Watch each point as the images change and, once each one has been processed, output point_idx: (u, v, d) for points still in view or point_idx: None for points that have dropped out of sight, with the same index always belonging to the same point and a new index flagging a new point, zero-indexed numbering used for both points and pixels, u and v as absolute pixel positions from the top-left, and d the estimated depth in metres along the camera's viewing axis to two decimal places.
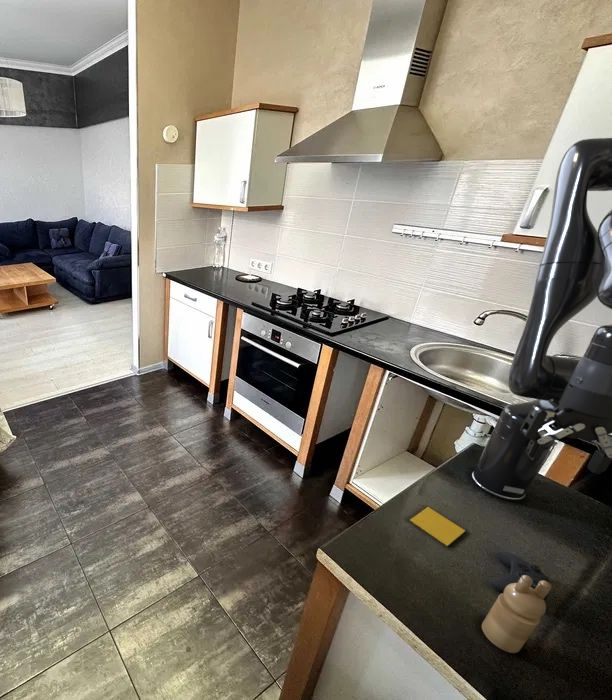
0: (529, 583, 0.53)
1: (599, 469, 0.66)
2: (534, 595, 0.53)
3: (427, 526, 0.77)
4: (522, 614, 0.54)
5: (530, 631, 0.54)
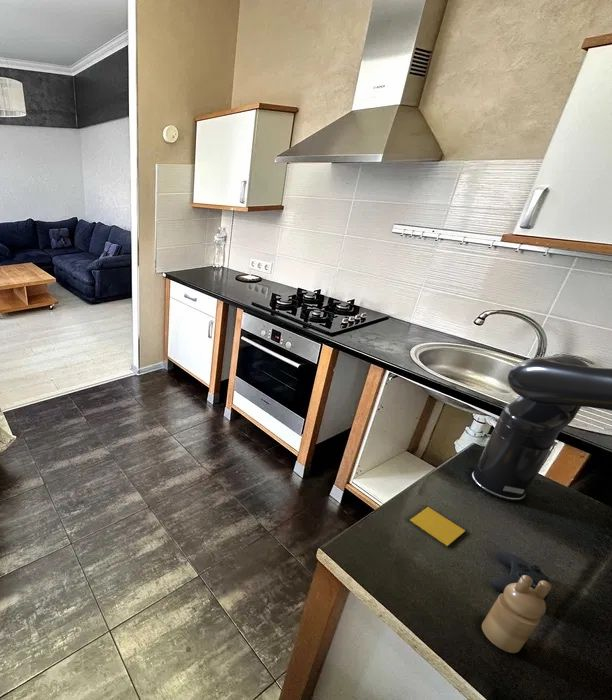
0: (529, 583, 0.53)
1: None
2: (534, 595, 0.53)
3: (427, 526, 0.77)
4: (522, 614, 0.54)
5: (530, 631, 0.54)
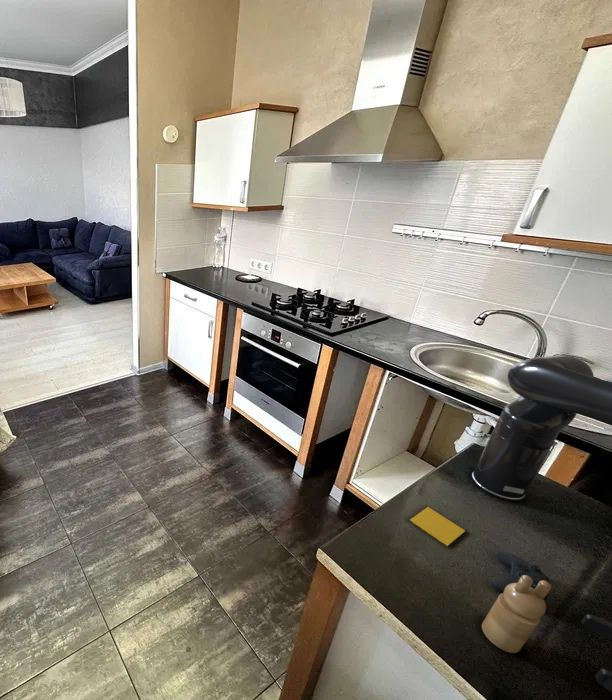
0: (529, 583, 0.53)
1: None
2: (534, 595, 0.53)
3: (427, 526, 0.77)
4: (522, 614, 0.54)
5: (530, 631, 0.54)
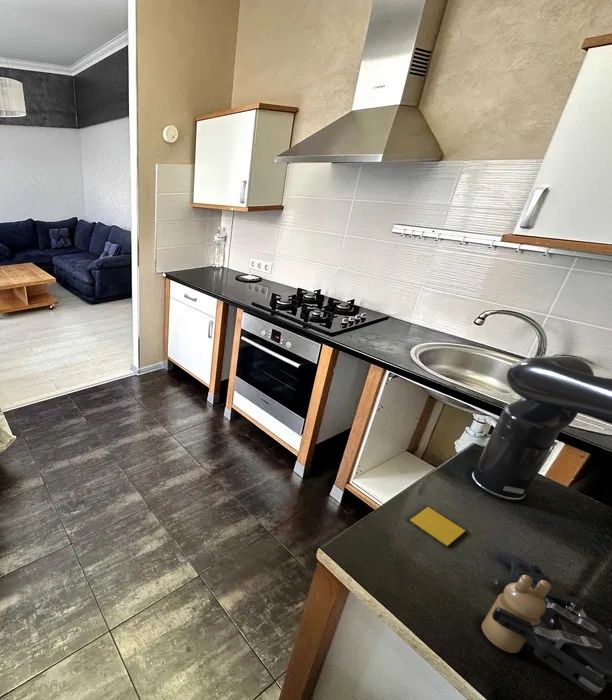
0: (529, 583, 0.53)
1: None
2: (534, 595, 0.53)
3: (427, 526, 0.77)
4: (522, 614, 0.54)
5: None
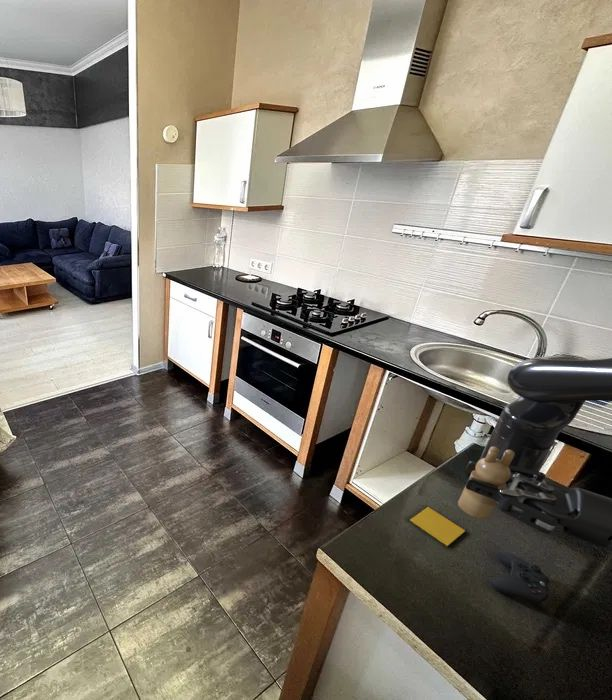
0: (496, 452, 0.62)
1: None
2: (500, 463, 0.62)
3: (427, 526, 0.77)
4: (490, 480, 0.62)
5: None
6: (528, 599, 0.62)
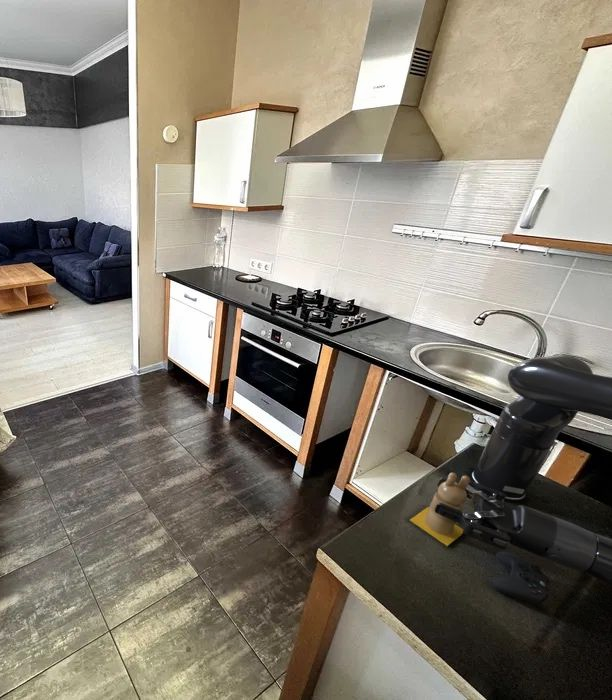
0: (454, 477, 0.72)
1: None
2: (458, 487, 0.72)
3: (427, 526, 0.77)
4: (450, 501, 0.72)
5: None
6: (528, 599, 0.62)
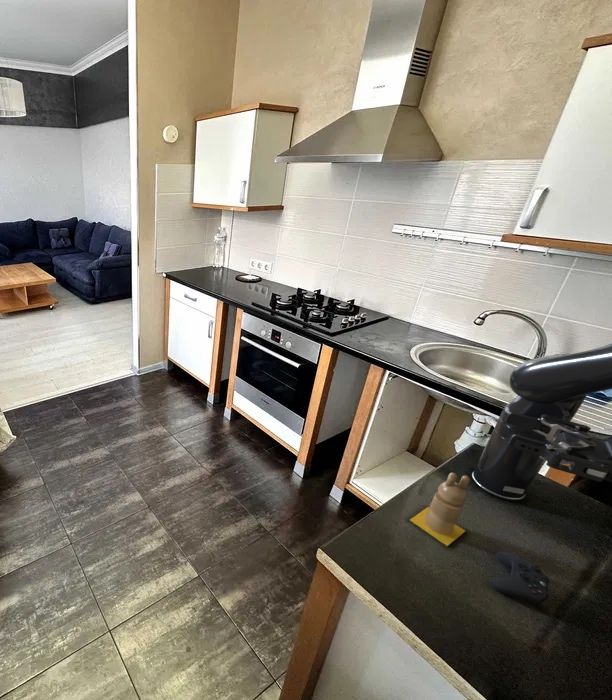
0: (454, 477, 0.72)
1: None
2: (458, 487, 0.72)
3: (427, 526, 0.77)
4: (450, 501, 0.72)
5: (456, 515, 0.73)
6: (528, 599, 0.62)
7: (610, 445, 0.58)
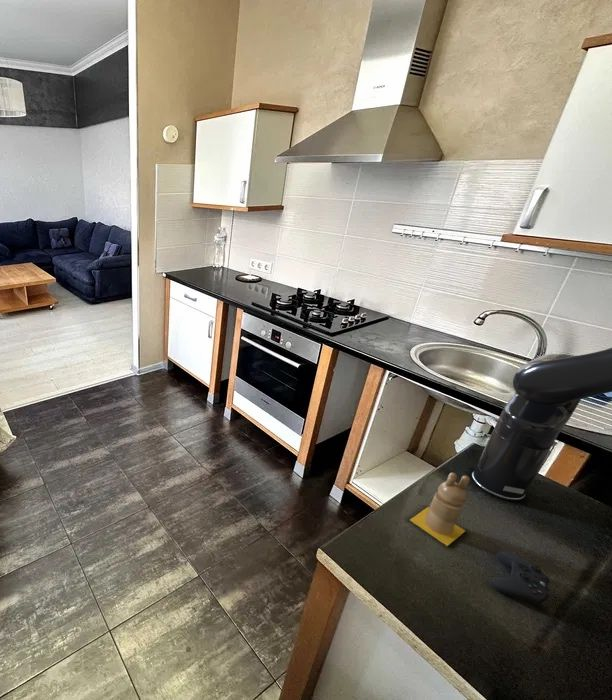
0: (454, 477, 0.72)
1: None
2: (458, 487, 0.72)
3: (427, 526, 0.77)
4: (450, 501, 0.72)
5: (456, 515, 0.73)
6: (528, 599, 0.62)
7: None
